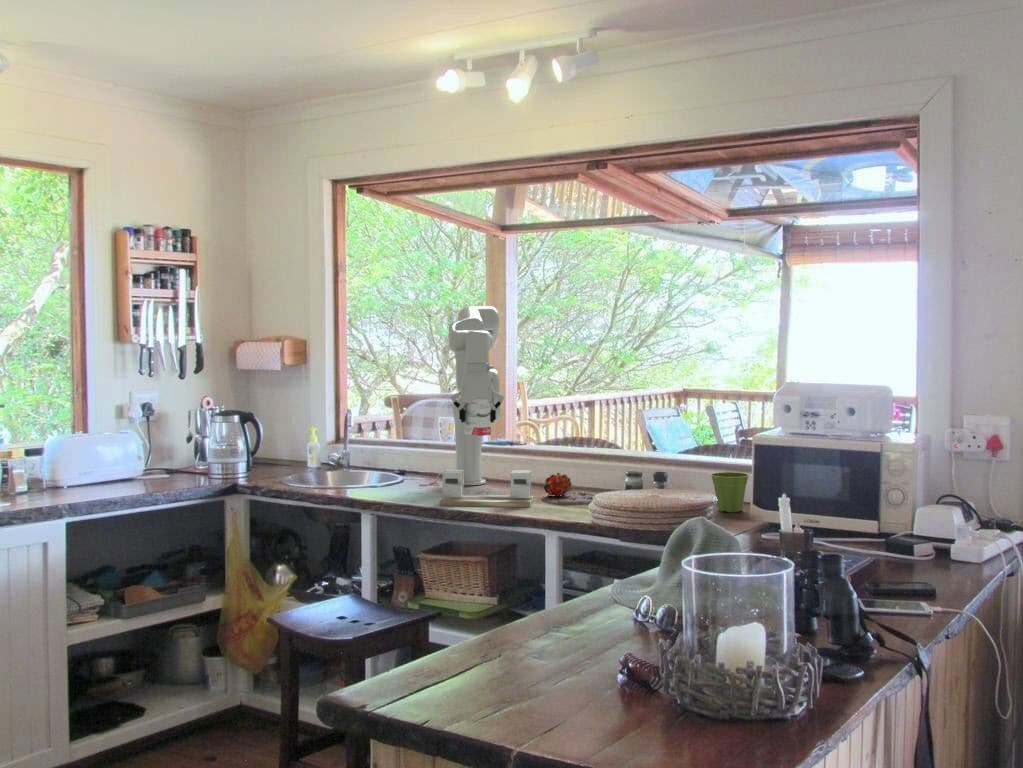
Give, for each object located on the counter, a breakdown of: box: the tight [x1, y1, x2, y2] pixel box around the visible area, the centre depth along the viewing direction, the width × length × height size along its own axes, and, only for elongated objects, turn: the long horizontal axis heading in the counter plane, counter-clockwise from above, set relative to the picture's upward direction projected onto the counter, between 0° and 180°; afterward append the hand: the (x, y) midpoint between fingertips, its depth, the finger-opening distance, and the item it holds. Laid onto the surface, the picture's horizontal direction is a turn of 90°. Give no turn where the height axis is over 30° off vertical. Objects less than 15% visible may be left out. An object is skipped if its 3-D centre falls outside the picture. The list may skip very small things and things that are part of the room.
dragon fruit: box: [543, 472, 572, 497], centre depth 324 cm, size 8×8×12 cm
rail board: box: [439, 469, 534, 508], centre depth 311 cm, size 12×29×10 cm, turn 85°
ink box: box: [465, 399, 492, 437], centre depth 311 cm, size 8×5×12 cm, turn 37°
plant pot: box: [709, 471, 750, 513], centre depth 295 cm, size 12×12×11 cm
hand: (477, 422), depth 311 cm, fingers closed on ink box, 9 cm apart
